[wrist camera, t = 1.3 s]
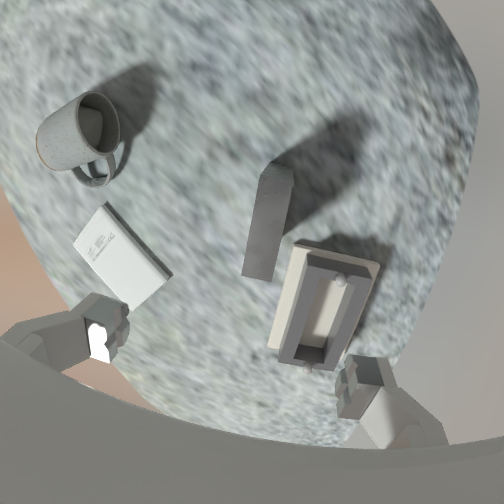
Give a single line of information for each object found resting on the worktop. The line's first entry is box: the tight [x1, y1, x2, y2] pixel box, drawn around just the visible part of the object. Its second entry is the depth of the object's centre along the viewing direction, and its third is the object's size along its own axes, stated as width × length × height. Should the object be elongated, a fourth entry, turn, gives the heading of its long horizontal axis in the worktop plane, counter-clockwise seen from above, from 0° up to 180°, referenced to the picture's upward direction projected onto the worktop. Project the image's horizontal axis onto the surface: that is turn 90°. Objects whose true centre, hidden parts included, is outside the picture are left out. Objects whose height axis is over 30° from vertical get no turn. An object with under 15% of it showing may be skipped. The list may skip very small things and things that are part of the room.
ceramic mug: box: [36, 91, 120, 188], centre depth 28 cm, size 11×8×8 cm
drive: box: [241, 162, 294, 282], centre depth 27 cm, size 8×2×10 cm, turn 170°
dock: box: [267, 243, 380, 374], centre depth 33 cm, size 14×10×5 cm
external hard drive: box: [73, 204, 170, 311], centre depth 36 cm, size 2×8×12 cm
